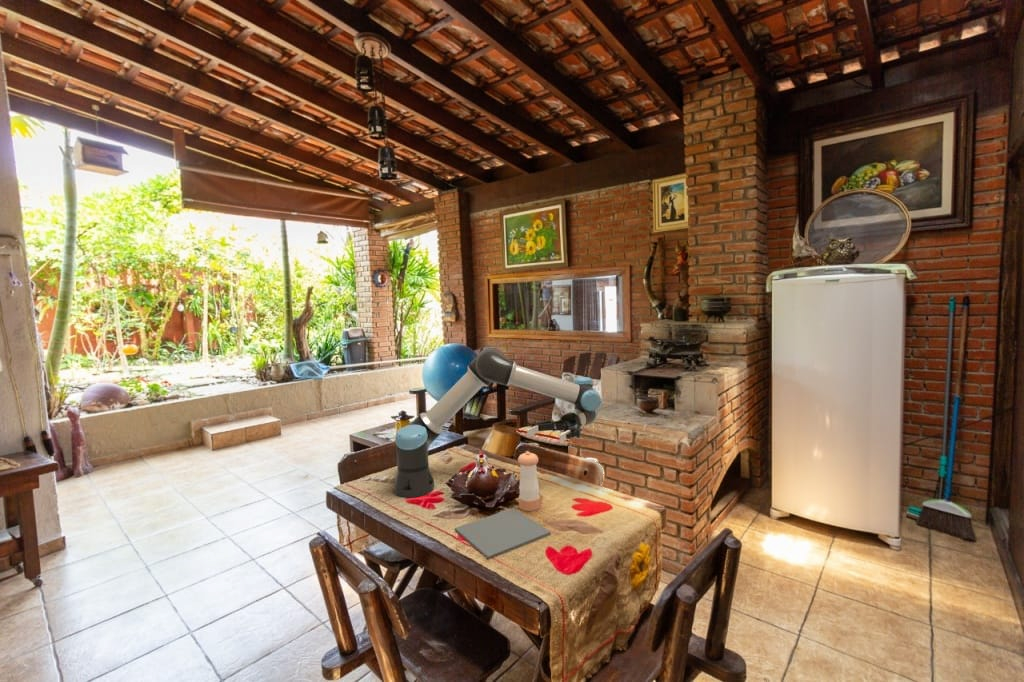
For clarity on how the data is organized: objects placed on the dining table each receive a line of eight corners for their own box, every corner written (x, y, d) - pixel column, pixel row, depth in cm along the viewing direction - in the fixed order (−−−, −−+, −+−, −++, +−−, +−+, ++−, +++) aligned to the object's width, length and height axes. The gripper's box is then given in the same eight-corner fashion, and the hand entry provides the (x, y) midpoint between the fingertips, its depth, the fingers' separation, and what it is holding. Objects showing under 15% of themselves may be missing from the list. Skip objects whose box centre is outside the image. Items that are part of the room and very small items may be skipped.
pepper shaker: (540, 510, 153) (539, 455, 152) (519, 511, 154) (517, 455, 152) (539, 501, 161) (538, 448, 159) (519, 501, 161) (517, 448, 159)
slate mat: (454, 530, 143) (454, 527, 142) (513, 510, 155) (513, 507, 155) (488, 559, 126) (487, 556, 126) (550, 534, 138) (550, 531, 138)
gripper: (602, 435, 173) (575, 451, 156) (545, 426, 188) (515, 441, 171) (601, 415, 172) (574, 430, 155) (545, 408, 187) (514, 421, 170)
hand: (543, 436), depth 163 cm, fingers open, 13 cm apart
